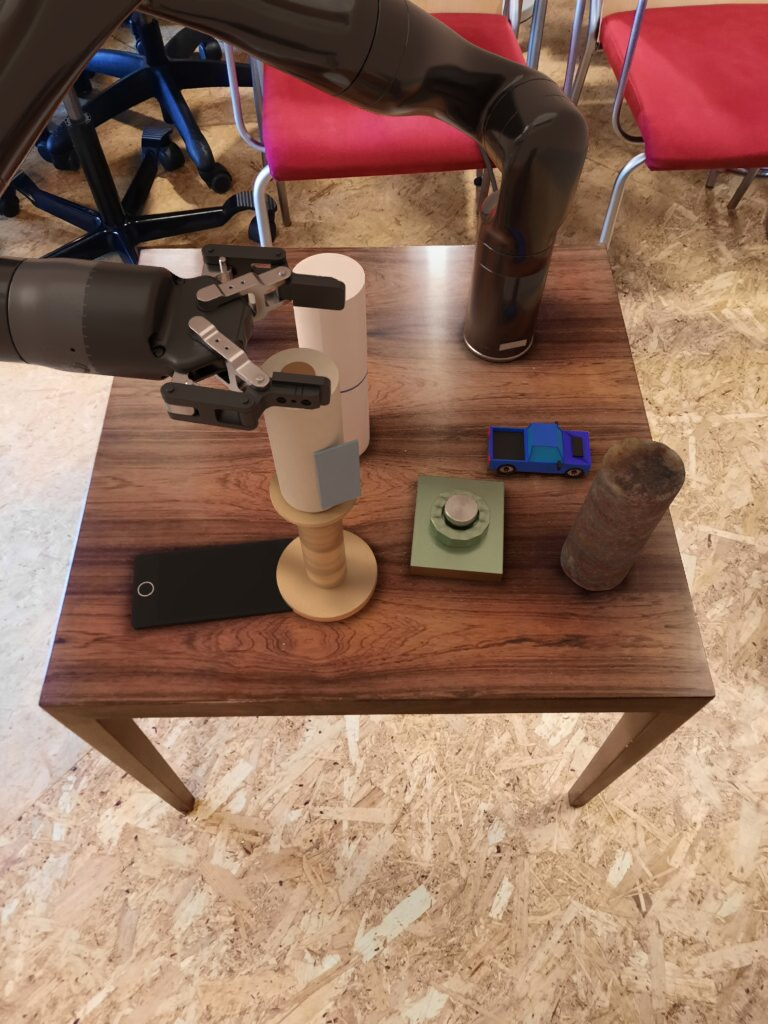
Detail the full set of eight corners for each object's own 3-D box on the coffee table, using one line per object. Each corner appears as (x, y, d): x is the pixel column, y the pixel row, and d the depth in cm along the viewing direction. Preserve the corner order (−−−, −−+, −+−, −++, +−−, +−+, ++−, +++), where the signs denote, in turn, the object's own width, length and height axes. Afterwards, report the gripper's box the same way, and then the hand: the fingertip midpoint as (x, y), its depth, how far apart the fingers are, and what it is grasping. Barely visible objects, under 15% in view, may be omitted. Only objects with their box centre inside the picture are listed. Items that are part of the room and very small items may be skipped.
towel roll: (271, 468, 66) (245, 357, 54) (336, 447, 68) (326, 334, 55) (293, 524, 63) (271, 419, 51) (361, 500, 64) (355, 393, 52)
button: (444, 500, 82) (445, 492, 80) (476, 503, 82) (478, 494, 80) (442, 528, 80) (443, 520, 79) (475, 531, 80) (477, 523, 78)
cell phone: (137, 558, 83) (134, 554, 82) (296, 541, 84) (295, 536, 83) (132, 631, 78) (130, 628, 77) (302, 611, 79) (301, 608, 78)
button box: (417, 484, 87) (419, 465, 84) (501, 491, 87) (506, 472, 83) (409, 574, 81) (410, 557, 78) (500, 582, 81) (505, 566, 77)
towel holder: (286, 528, 84) (264, 432, 69) (382, 537, 84) (381, 441, 68) (269, 617, 78) (241, 533, 63) (371, 626, 78) (368, 544, 63)
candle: (608, 609, 79) (669, 512, 62) (546, 577, 81) (589, 474, 64) (635, 556, 82) (700, 450, 65) (574, 526, 84) (623, 416, 67)
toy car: (587, 485, 87) (597, 461, 83) (486, 480, 88) (491, 455, 83) (583, 440, 91) (593, 415, 86) (486, 435, 91) (490, 410, 87)
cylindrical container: (362, 466, 89) (356, 309, 67) (305, 456, 90) (281, 298, 68) (375, 420, 92) (372, 258, 71) (319, 411, 93) (300, 248, 72)
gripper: (49, 363, 43) (324, 390, 43) (112, 201, 50) (349, 224, 50) (88, 436, 50) (326, 459, 50) (139, 284, 57) (349, 305, 57)
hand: (338, 341), depth 50 cm, fingers open, 8 cm apart
